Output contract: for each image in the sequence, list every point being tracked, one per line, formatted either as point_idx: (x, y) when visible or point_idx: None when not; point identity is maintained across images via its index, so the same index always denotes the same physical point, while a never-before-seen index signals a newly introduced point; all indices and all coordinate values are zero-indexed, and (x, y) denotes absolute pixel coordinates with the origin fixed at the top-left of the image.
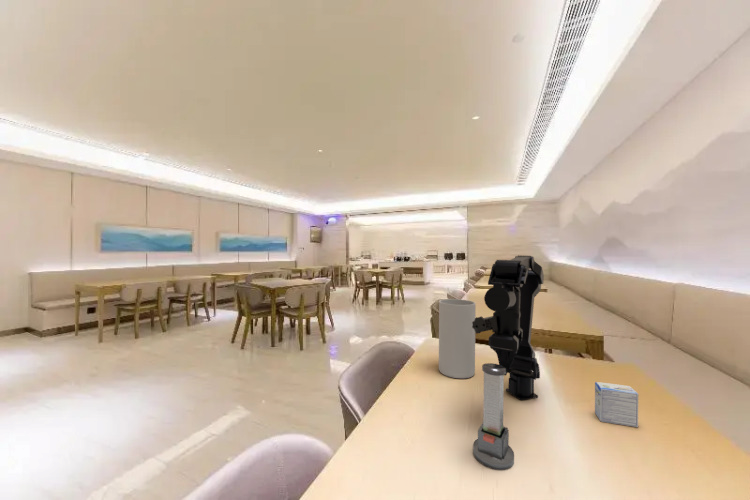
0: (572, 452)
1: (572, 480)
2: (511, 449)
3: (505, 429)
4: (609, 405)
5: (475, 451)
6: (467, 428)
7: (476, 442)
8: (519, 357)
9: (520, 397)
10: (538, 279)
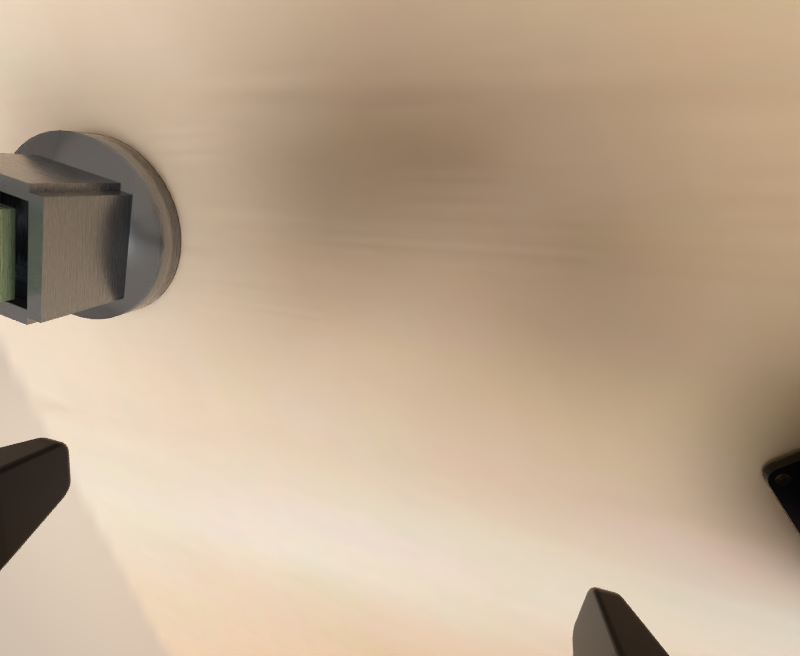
0: (275, 544)
1: (119, 482)
2: (114, 312)
3: (21, 308)
4: None
5: (25, 144)
6: (263, 88)
7: (83, 147)
8: None
9: (790, 479)
10: None
